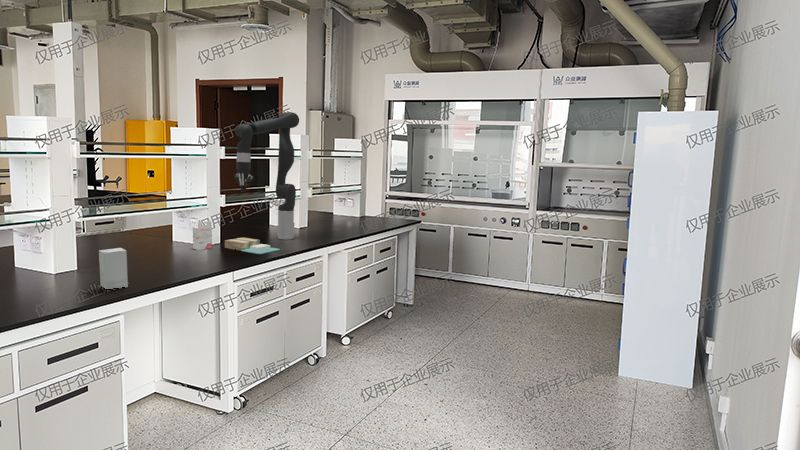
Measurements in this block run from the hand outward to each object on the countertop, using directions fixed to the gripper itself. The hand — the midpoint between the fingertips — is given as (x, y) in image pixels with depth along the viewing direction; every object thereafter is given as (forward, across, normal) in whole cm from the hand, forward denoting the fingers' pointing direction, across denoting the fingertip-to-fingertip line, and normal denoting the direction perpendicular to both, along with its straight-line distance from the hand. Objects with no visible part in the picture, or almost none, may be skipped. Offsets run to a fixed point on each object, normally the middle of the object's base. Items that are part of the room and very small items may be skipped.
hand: (243, 192), depth 312 cm
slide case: (+26, -21, +10) cm, 35 cm away
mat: (+29, -22, +10) cm, 38 cm away
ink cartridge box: (+29, +4, +26) cm, 39 cm away
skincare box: (+29, -30, +102) cm, 110 cm away
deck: (+29, -9, +10) cm, 32 cm away
